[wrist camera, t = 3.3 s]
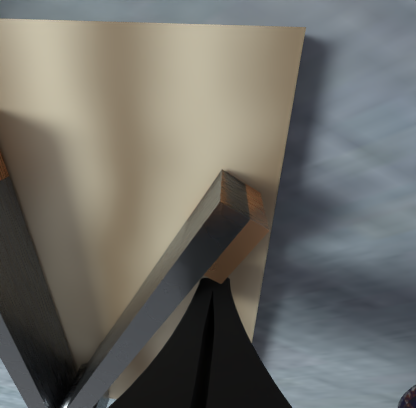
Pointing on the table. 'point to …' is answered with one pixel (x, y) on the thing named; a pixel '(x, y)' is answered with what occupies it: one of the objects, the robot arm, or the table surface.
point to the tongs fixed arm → (30, 314)
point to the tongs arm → (176, 279)
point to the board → (137, 154)
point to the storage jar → (408, 399)
